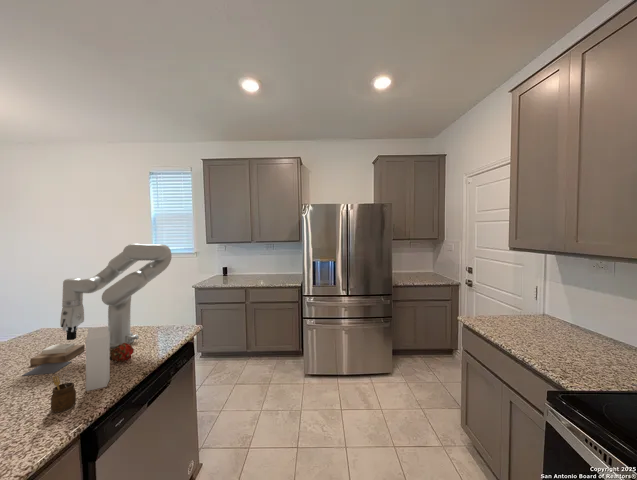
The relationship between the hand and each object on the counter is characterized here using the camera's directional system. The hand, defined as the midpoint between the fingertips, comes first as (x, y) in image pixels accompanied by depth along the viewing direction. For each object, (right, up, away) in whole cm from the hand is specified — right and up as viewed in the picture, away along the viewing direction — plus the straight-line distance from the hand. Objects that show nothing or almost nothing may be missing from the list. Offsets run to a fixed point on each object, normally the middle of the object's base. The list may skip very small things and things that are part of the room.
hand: (71, 339), depth 132 cm
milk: (+41, -5, -33) cm, 53 cm away
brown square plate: (+3, -5, -9) cm, 11 cm away
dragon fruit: (+35, -5, -13) cm, 38 cm away
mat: (+9, -5, -20) cm, 22 cm away
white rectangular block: (+3, -2, -9) cm, 10 cm away
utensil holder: (+41, -5, -46) cm, 62 cm away
